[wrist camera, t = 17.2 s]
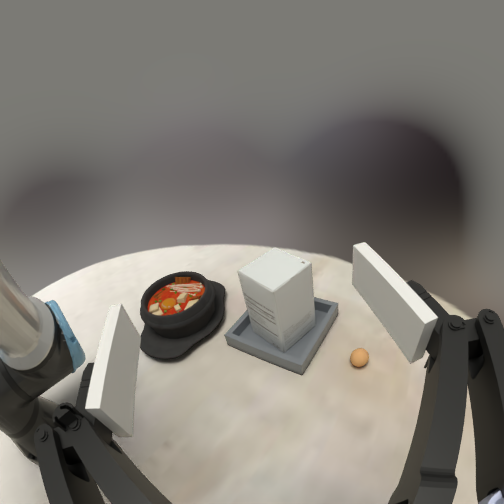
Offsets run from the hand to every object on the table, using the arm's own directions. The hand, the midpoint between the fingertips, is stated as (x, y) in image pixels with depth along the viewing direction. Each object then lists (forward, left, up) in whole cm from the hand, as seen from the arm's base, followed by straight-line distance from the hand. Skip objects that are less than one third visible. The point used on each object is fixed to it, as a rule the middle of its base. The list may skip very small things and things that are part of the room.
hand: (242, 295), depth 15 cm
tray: (-14, +23, -32) cm, 42 cm away
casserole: (-35, +16, -32) cm, 50 cm away
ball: (+2, +21, -32) cm, 38 cm away
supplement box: (-14, +23, -32) cm, 41 cm away
